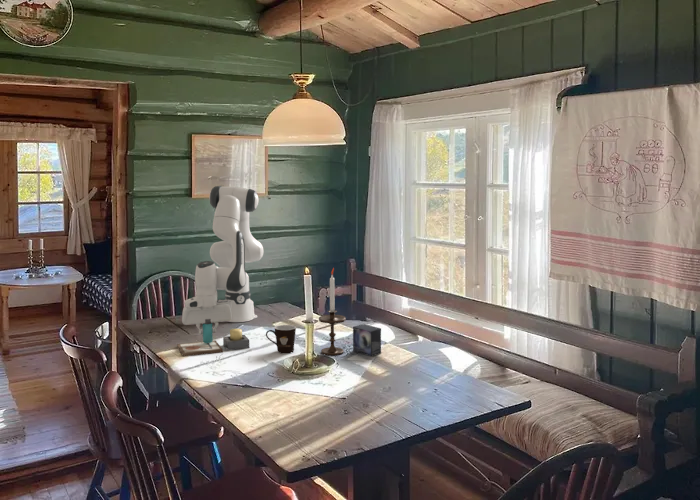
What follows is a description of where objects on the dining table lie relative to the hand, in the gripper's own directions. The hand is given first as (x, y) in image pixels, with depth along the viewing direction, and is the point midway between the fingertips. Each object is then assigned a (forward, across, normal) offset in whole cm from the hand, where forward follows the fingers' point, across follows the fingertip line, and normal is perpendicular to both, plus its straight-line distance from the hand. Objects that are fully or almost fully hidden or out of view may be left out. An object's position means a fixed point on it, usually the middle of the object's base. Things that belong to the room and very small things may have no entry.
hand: (207, 333), depth 282 cm
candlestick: (+6, -45, +28) cm, 54 cm away
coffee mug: (+6, -27, +18) cm, 33 cm away
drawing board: (+6, +4, +3) cm, 8 cm away
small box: (+6, -58, +33) cm, 67 cm away
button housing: (+6, -11, +4) cm, 13 cm away
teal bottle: (+4, 0, 0) cm, 4 cm away
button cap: (+3, -11, +4) cm, 12 cm away
